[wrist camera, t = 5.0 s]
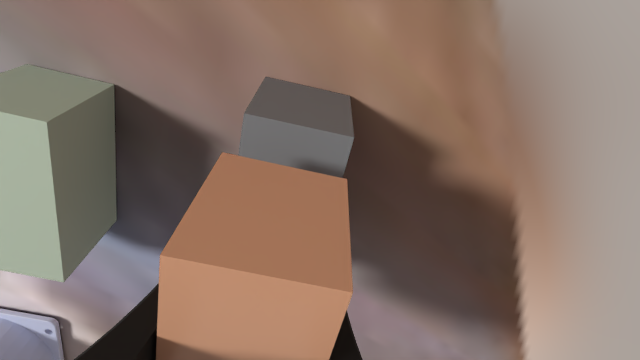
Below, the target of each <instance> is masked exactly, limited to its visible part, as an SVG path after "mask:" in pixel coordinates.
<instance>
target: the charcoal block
mask: <svg viewBox="0 0 640 360" xmlns="http://www.w3.org/2000/svg"><path fill="white" fill-rule="evenodd" d="M353 140H354V130H353V121H352V111H351V102H350V96H348V95H344V94H340V93H335V92H331V91H327V90H322V89H318V88H313V87H309V86H305V85H300V84H296V83H291V82H287V81H283V80H278V79H274V78H270V77H265V79H264V80H263V82H262V84H261V86H260V87H259V89H258V91H257V92H256V94H255V96H254V97H253V99H252V101H251V102H250V104H249V106H248V107H247V109H246V111H245V113H244V118H243V125H242V132H241V140H240V147H239V155H238V156H242V157H247V158H251V159H256V160H261V161H265V162H270V163H275V164H279V165H284V166H289V167H293V168H298V169H302V170H307V171H312V172H316V173H321V174H326V175H330V176H335V177H340V178H343V175H344V172H345V168H346V165H347V161H348V158H349V154H350V151H351V147H352V144H353Z"/></svg>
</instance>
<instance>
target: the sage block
mask: <svg viewBox="0 0 640 360" xmlns="http://www.w3.org/2000/svg"><path fill="white" fill-rule="evenodd" d="M116 220H117V210H116V155H115V100H114V84H110V83H105V82H101V81H97V80H93V79H88V78H84V77H80V76H75V75H71V74H67V73H63V72H58V71H54V70H50V69H46V68H41V67H37V66H33V65H28V64H26V65H23V66H20V67H17V68H14V69H11V70H8V71H5V72H2V73H0V270H3V271H8V272H13V273H18V274H23V275H28V276H33V277H39V278H44V279H49V280H54V281H59V282H65V280H66V279H67V278H68V277H69V276H70V275H71V273H72V272H73V271H74V270H75V269H76V267H77V266H78V265H79V264H80V263H81V262H82V260H83V259H84V258H85V257H86V256H87V255H88V253H89V252H90V251H91V250H92V249H93V248H94V246H95V245H96V244H97V243H98V242H99V240H100V239H101V238H102V237H103V236H104V235H105V233H106V232H107V231H108V230H109V229H110V228H111V226H112V225H113V224H114V223H115V222H116Z"/></svg>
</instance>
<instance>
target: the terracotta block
mask: <svg viewBox="0 0 640 360" xmlns="http://www.w3.org/2000/svg"><path fill="white" fill-rule="evenodd" d="M352 294H353V285H352V265H351V245H350V226H349V206H348V186H347V179H344V178H340V177H335V176H330V175H326V174H321V173H316V172H312V171H307V170H302V169H298V168H293V167H289V166H284V165H279V164H275V163H270V162H265V161H261V160H256V159H251V158H247V157H242V156H238V155H233V154H228V153H224V152H222V154H221V155H220V157H219V159H218V160H217V162H216V163H215V165H214V167H213V168H212V170H211V172H210V173H209V175H208V177H207V178H206V180H205V182H204V183H203V185H202V187H201V188H200V190H199V192H198V193H197V195H196V197H195V198H194V200H193V201H192V203H191V205H190V206H189V208H188V210H187V211H186V213H185V215H184V216H183V218H182V220H181V221H180V223H179V225H178V226H177V228H176V230H175V231H174V233H173V235H172V236H171V238H170V239H169V241H168V243H167V244H166V246H165V248H164V249H163V251H162V253H161V254H160V268H159V293H158V318H157V343H156V360H329V358H330V356H331V353H332V350H333V347H334V344H335V341H336V339H337V336H338V333H339V330H340V327H341V325H342V322H343V319H344V316H345V313H346V311H347V308H348V305H349V302H350V299H351V297H352Z"/></svg>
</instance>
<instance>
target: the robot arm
mask: <svg viewBox="0 0 640 360" xmlns="http://www.w3.org/2000/svg"><path fill="white" fill-rule="evenodd" d="M158 293H159V283H158V284H157V285H156V287H155V288H154V289H153V290H152V291H151V292H150V293H149V294H148V295H147V296H146V297H145V298H144V299H143V300H142V301H141V302H140V303H139V304H138V305H137V306H136V307H135V308H133V309H132V310H131V311H130V312H129V313H128V314H127V315H126V316H125V317H124V318H123V319H122V320H121V321H119V322H118V323H117V324H116V325H115V326H114V327H113V328H112V329H111V330H109V331H108V332H107V333H106V334H105V335H103V336H102V337H101V338H100V339H99V340H97V341H96V342H95V343H94V344H93V345H92V346H90V347H89V348H88V349H87V350H86V351H84V352H83V353H82V354H80V355H79V356H78V357H77V358H75V359H74V360H156V343H157V318H158ZM0 360H64V356H63V349H62V342H61V335H60V328H59V323H58V321H57V320H56V319H54V318H51V317H46V316H40V315H34V314H29V313H23V312H17V311H12V310H6V309H0ZM329 360H362V357H361V354H360V352H359V349H358V346H357V343H356V340H355V337H354V334H353V331H352V328H351V324H350V321H349V317H348V313H347V311H346V313H345V316H344V319H343V322H342V325H341V327H340V330H339V333H338V336H337V339H336V341H335V344H334V347H333V350H332V353H331V356H330V358H329Z"/></svg>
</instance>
